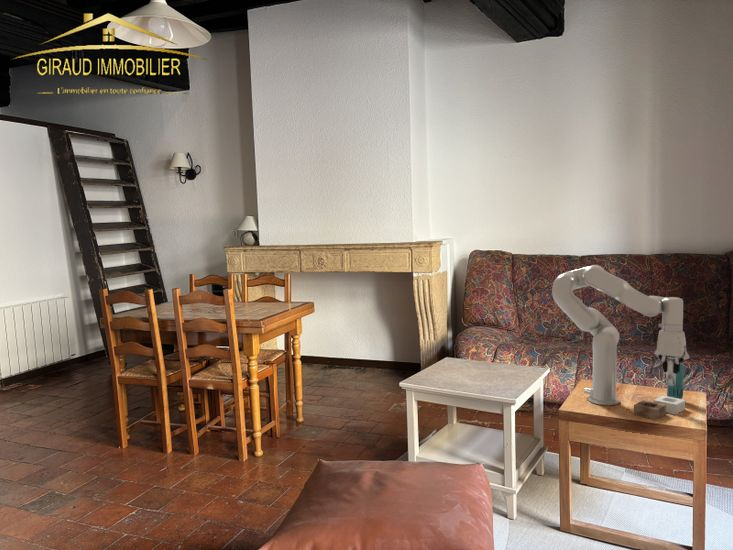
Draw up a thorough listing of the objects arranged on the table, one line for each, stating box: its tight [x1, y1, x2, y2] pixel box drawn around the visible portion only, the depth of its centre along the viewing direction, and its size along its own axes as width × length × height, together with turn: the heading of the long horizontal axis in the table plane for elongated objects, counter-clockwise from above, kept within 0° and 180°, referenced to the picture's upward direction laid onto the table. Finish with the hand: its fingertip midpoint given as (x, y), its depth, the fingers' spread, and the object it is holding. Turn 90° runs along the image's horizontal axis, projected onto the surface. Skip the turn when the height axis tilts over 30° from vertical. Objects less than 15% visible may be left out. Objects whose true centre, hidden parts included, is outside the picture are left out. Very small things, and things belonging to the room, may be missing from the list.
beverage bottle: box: [666, 356, 685, 399], centre depth 262 cm, size 6×7×20 cm
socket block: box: [633, 399, 667, 421], centre depth 245 cm, size 9×9×4 cm
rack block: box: [653, 395, 686, 415], centre depth 251 cm, size 9×9×4 cm
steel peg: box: [665, 356, 676, 386], centre depth 250 cm, size 3×3×11 cm
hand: (671, 371), depth 250 cm, fingers closed on steel peg, 3 cm apart
